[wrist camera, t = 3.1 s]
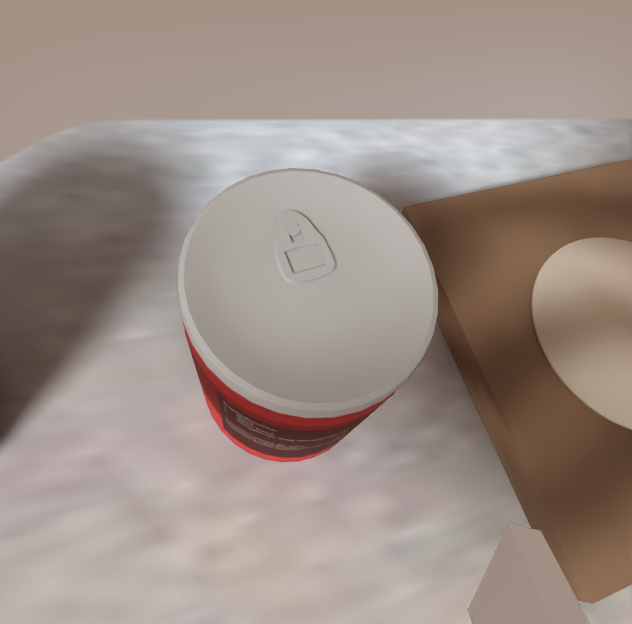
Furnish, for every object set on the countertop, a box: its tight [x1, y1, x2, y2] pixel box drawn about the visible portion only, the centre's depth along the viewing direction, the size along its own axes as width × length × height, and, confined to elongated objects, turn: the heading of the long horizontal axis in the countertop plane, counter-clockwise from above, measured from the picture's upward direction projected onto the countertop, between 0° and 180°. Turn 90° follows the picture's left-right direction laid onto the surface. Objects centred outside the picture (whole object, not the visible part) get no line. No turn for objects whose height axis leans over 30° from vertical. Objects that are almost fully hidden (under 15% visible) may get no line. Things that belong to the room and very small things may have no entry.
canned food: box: [178, 168, 438, 462], centre depth 19 cm, size 8×8×11 cm
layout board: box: [402, 160, 632, 604], centre depth 26 cm, size 20×18×2 cm
